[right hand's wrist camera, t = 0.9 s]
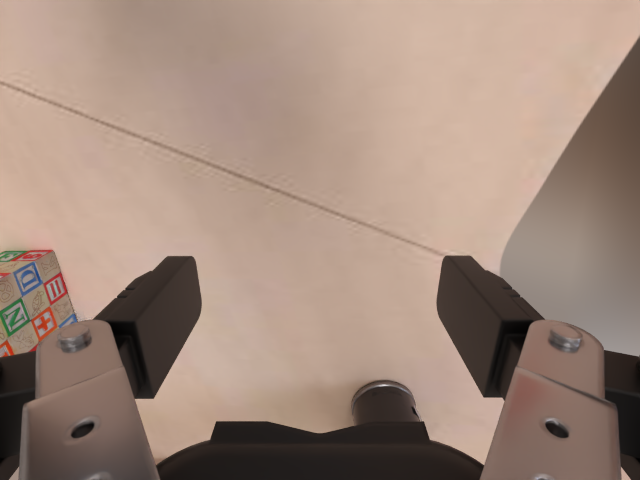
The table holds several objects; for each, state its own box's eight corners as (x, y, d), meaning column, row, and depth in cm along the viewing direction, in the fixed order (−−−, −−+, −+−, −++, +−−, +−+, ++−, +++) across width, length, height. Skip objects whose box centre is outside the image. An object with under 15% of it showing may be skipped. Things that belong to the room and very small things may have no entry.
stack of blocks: (100, 382, 50) (36, 466, 39) (58, 383, 50) (-19, 467, 39) (53, 248, 42) (-47, 305, 30) (2, 249, 42) (-117, 307, 30)
